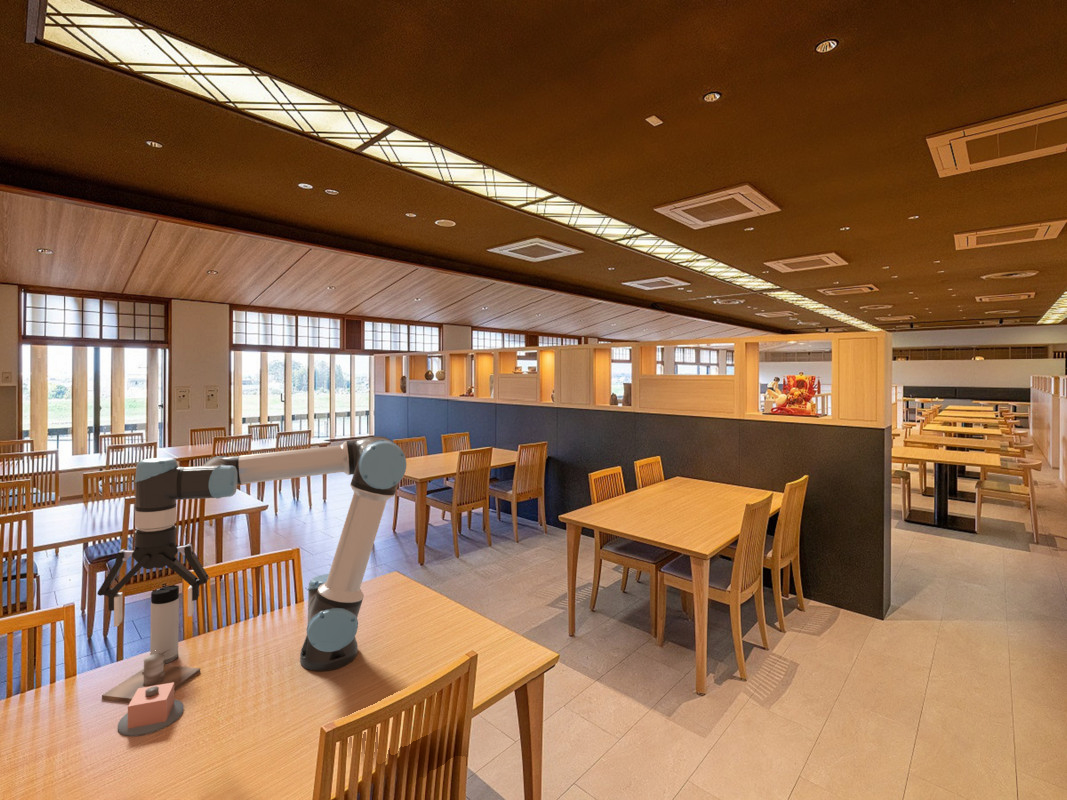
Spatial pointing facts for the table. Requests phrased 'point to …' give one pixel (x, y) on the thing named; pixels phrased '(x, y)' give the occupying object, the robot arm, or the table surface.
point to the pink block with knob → (151, 705)
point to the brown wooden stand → (151, 678)
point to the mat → (147, 729)
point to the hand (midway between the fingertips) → (155, 618)
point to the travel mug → (165, 622)
